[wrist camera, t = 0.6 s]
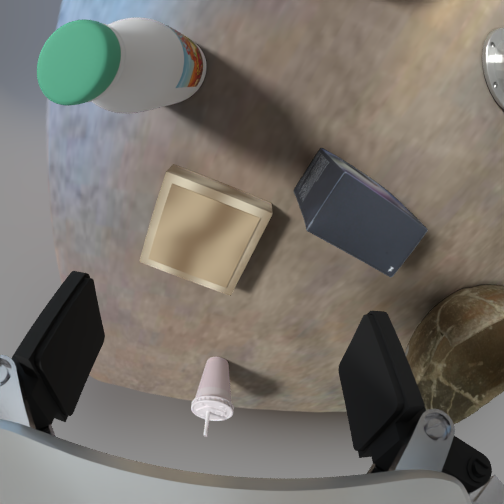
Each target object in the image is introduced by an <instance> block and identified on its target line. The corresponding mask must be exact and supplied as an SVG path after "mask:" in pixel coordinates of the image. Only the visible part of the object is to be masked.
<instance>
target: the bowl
mask: <svg viewBox="0 0 504 504" xmlns="http://www.w3.org/2000/svg"><path fill="white" fill-rule="evenodd" d="M405 355H406V358H407V360H408V363H409V365H410V368H411V370H412V373H413V375H414V378H415V380H416V383H417V385H418V388H419V391H420V393H421V396H422V399H423V401H424V404H425V408H426V411H427V410H429V409H439V410H441V411H443V412H445V413H446V414H448V416H449V417H450V418H451V419H452V421H453V424H455V423H458V422H460V421H461V420H463V419H465V418H467V417H468V416H470V415H471V414H473V413H474V412H476V411H478V410H479V408H481V407H482V406H484V405H485V404H487V403H489V402H490V401H491V400H492V399H493V398H494V397H496V396H497V395H499V394H501V393H502V392H503V391H504V286H501V285H480V286H476V287H473V288H467V289H461V290H459V291H457V292H455V293H453V294H451V295H450V296H448V297H447V298H445V299H444V300H443V301H441V302H440V303H439V304H438V305H437V306H435V307H434V308H433V309H432V310H431V311H430V312H429V314H428V315H427V316H426V317H425V318H424V319H423V320H422V322H421V323H420V324H419V326H418V327H417V329H416V330H415V332H414V334H413V336H412V338H411V339H410V341H409V344H408V346H407V349H406V352H405Z"/></svg>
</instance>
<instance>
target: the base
mask: <svg viewBox="0 0 504 504" xmlns="http://www.w3.org/2000/svg"><path fill="white" fill-rule="evenodd" d="M272 214H273V212H272V203H270V202H267V201H265V200H263V199H260V198H258V197H255V196H253V195H251V194H248V193H246V192H243V191H241V190H238V189H236V188H233V187H231V186H228V185H226V184H223V183H221V182H218V181H216V180H213V179H211V178H208V177H206V176H203V175H200V174H198V173H195V172H193V171H190V170H187V169H185V168H182V167H180V166H177V165H174V164H173V165H172V166H171V167H170V168H169V169H168V170H167V171H166V174H165V177H164V180H163V183H162V186H161V189H160V192H159V196H158V199H157V202H156V205H155V208H154V212H153V215H152V218H151V222H150V225H149V229H148V232H147V236H146V239H145V243H144V247H143V250H142V254H141V258H140V262H142V263H144V264H147V265H149V266H152V267H154V268H157V269H160V270H162V271H165V272H167V273H170V274H173V275H175V276H178V277H181V278H183V279H186V280H189V281H191V282H194V283H197V284H200V285H202V286H205V287H208V288H211V289H213V290H216V291H219V292H222V293H225V294H227V295H230V296H231V294H232V292H233V290H234V288H235V286H236V284H237V282H238V280H239V279H240V277H241V275H242V273H243V271H244V269H245V267H246V265H247V263H248V261H249V259H250V257H251V255H252V253H253V251H254V249H255V247H256V245H257V243H258V241H259V239H260V238H261V236H262V234H263V232H264V230H265V228H266V226H267V224H268V222H269V220H270V218H271V216H272Z"/></svg>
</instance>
